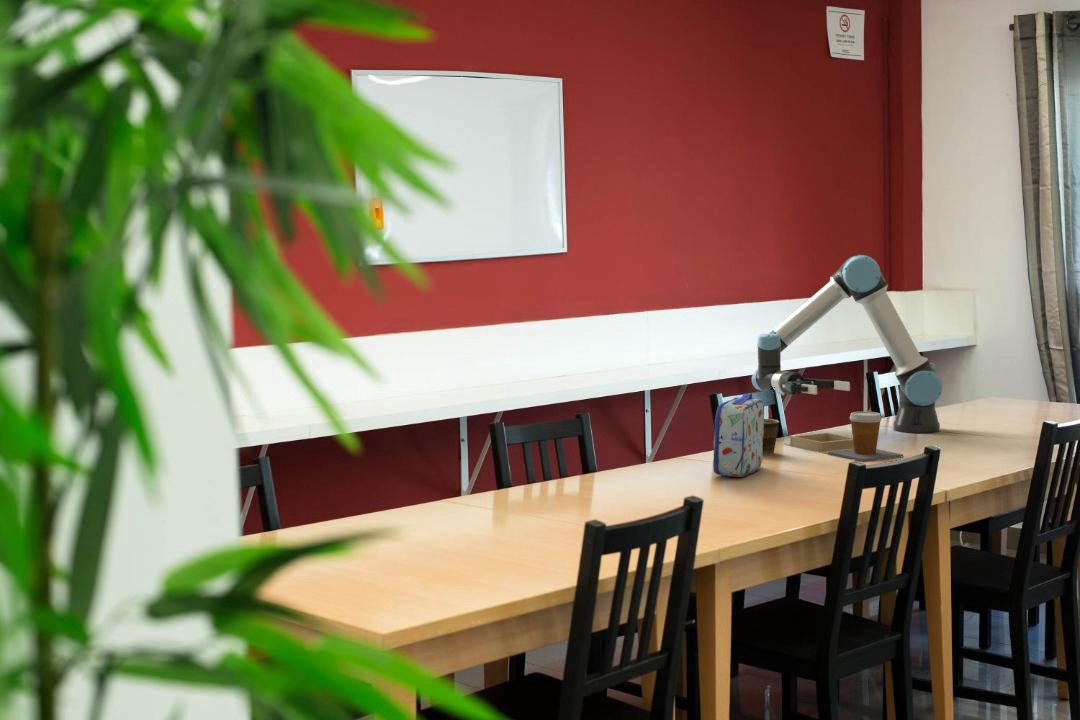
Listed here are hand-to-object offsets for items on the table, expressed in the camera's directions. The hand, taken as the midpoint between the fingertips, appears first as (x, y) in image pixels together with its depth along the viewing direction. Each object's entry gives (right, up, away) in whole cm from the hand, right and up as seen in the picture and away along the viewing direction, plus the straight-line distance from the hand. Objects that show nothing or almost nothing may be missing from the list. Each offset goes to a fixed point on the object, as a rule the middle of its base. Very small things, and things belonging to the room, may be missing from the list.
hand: (832, 388), depth 408 cm
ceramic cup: (-25, -20, -12) cm, 34 cm away
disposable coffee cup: (+6, -19, -17) cm, 26 cm away
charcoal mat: (+6, -20, -17) cm, 27 cm away
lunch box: (-36, -23, -42) cm, 60 cm away
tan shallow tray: (-3, -18, 0) cm, 19 cm away
